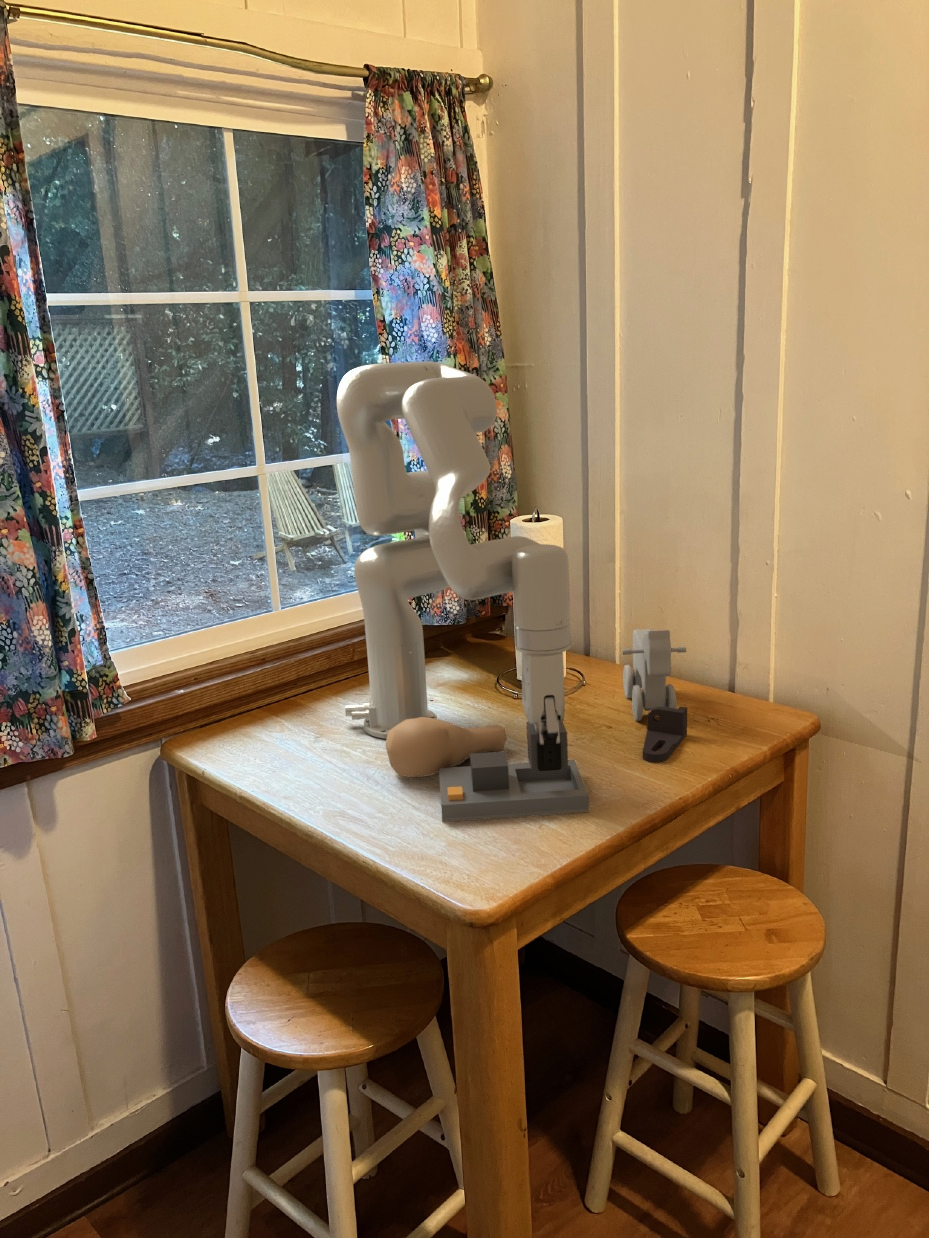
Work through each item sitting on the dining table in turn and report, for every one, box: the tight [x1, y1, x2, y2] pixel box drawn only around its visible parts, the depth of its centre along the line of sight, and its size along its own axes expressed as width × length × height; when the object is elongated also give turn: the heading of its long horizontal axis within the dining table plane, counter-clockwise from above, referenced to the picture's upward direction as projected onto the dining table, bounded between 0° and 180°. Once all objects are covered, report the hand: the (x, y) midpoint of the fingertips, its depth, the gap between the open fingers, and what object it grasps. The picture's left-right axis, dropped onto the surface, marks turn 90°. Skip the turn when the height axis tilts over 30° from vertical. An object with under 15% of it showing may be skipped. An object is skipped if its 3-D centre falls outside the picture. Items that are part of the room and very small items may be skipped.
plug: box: [526, 719, 569, 772], centre depth 134 cm, size 5×5×6 cm
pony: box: [622, 628, 687, 722], centre depth 164 cm, size 20×10×17 cm, turn 179°
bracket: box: [642, 706, 688, 764], centre depth 151 cm, size 6×12×5 cm, turn 151°
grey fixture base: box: [438, 751, 590, 823], centre depth 136 cm, size 20×12×6 cm, turn 93°
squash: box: [384, 717, 508, 778], centre depth 148 cm, size 11×20×9 cm, turn 124°
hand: (546, 760), depth 135 cm, fingers closed on plug, 5 cm apart
